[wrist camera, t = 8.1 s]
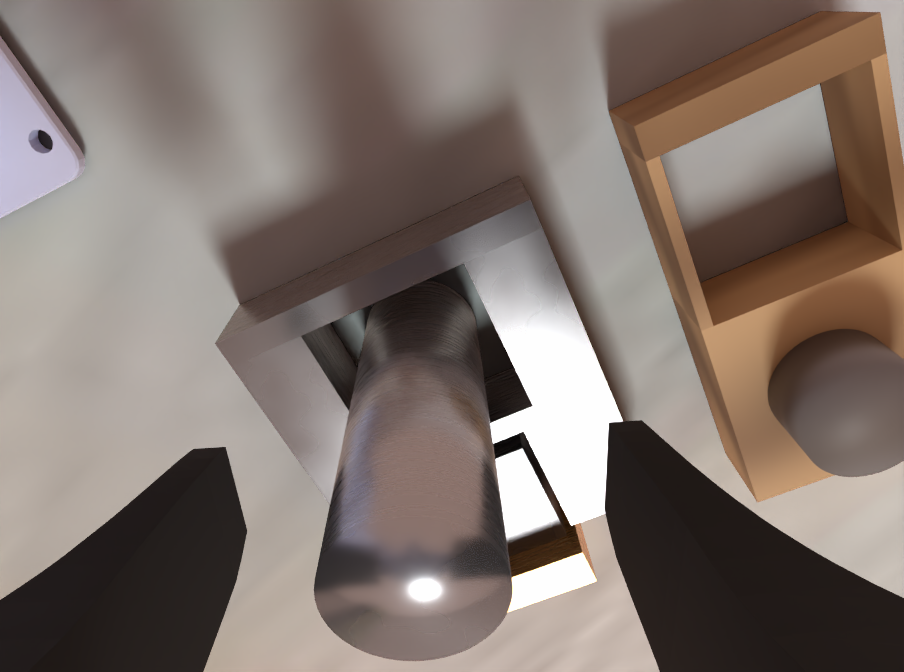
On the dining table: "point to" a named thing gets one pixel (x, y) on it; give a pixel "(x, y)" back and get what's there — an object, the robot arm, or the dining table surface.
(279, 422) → the socket block
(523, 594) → the drift key
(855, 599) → the robot arm
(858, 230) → the frame
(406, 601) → the metallic rounded cylinder
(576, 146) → the dining table surface
